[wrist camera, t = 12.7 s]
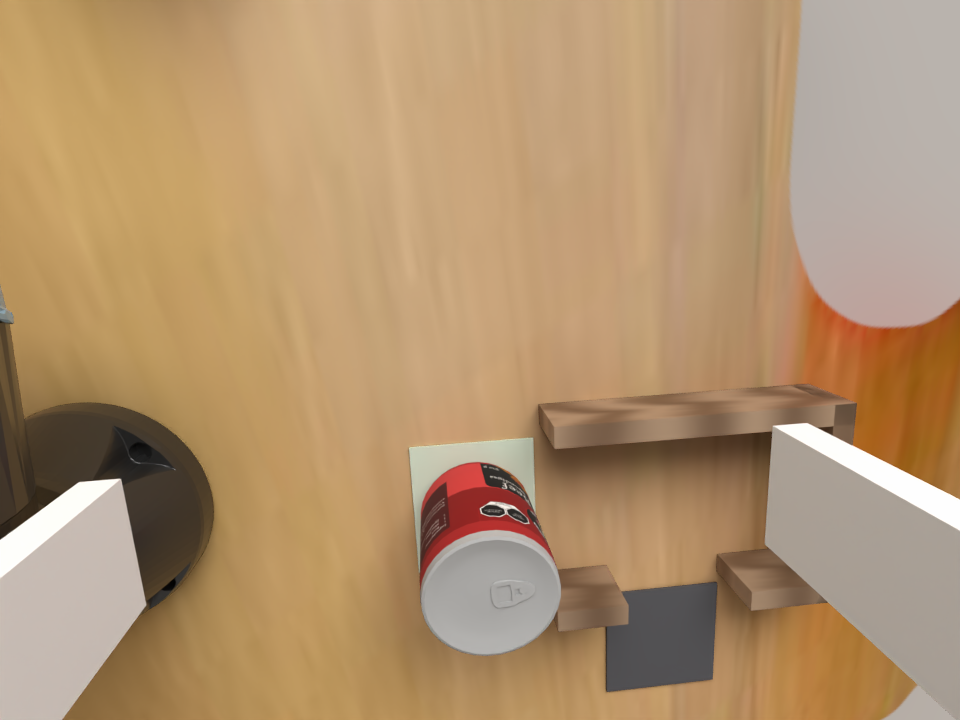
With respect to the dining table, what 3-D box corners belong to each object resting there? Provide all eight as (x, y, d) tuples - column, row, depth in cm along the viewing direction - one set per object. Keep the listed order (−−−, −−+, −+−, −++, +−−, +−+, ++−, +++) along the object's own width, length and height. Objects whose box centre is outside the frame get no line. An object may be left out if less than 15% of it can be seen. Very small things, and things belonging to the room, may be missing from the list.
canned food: (542, 527, 44) (581, 623, 33) (446, 569, 44) (453, 679, 33) (504, 440, 42) (532, 512, 31) (403, 484, 42) (397, 571, 31)
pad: (418, 571, 44) (418, 572, 44) (408, 447, 42) (409, 447, 41) (536, 560, 45) (536, 561, 44) (532, 437, 42) (533, 438, 42)
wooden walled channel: (543, 588, 45) (558, 631, 40) (538, 404, 42) (554, 427, 37) (793, 562, 47) (836, 601, 42) (808, 383, 44) (856, 403, 39)
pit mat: (606, 689, 48) (606, 691, 48) (606, 593, 46) (607, 595, 46) (711, 677, 49) (712, 679, 48) (716, 582, 47) (717, 583, 46)
